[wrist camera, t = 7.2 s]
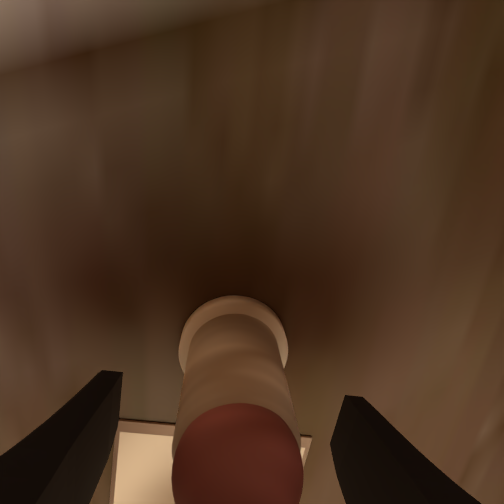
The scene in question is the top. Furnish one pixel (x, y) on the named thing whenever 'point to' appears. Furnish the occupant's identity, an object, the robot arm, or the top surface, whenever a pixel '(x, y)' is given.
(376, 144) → the top surface
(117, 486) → the board
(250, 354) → the pawn
